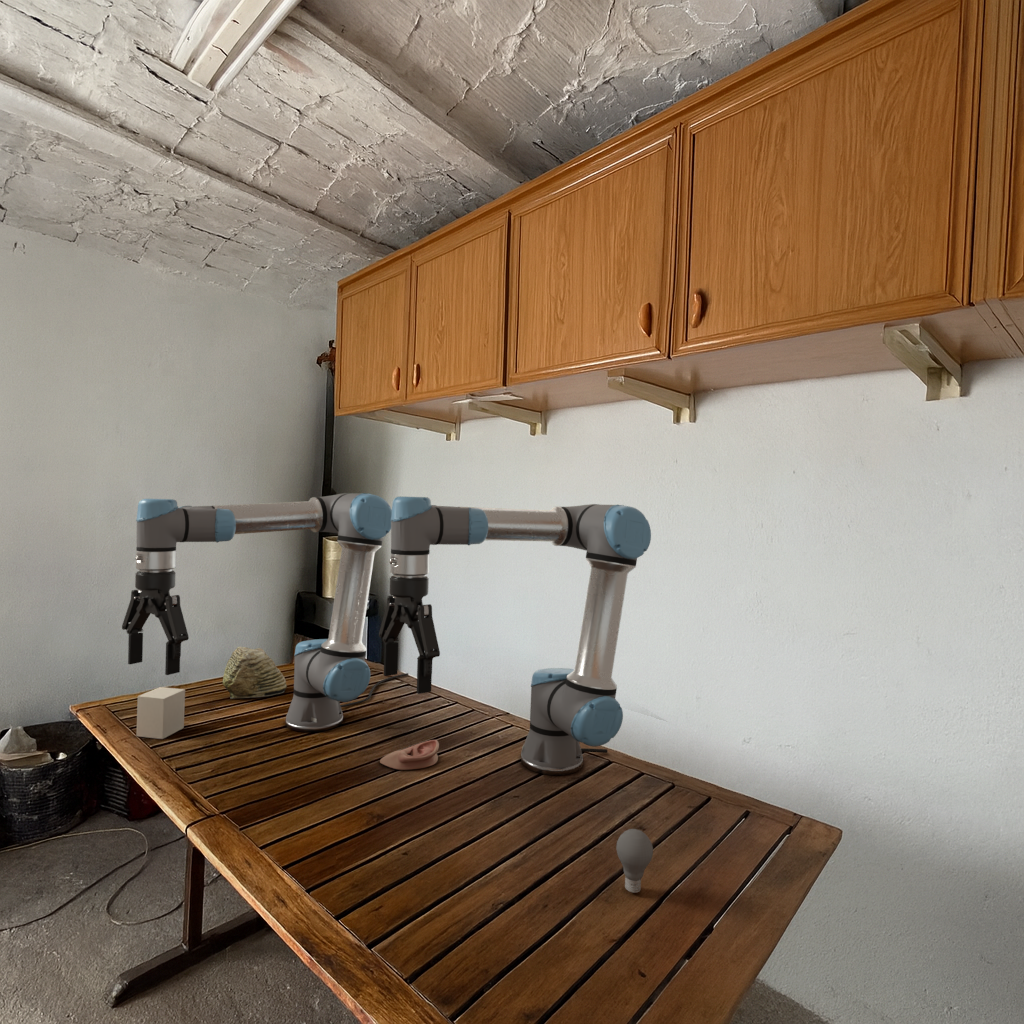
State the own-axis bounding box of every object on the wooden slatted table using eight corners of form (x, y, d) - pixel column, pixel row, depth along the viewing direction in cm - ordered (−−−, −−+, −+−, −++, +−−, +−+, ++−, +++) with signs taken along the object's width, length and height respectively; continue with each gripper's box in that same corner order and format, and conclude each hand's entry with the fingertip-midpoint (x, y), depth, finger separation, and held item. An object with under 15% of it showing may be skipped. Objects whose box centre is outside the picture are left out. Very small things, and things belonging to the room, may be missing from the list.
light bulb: (610, 879, 108) (613, 822, 108) (644, 879, 109) (647, 822, 109) (619, 902, 102) (622, 840, 102) (655, 901, 103) (658, 840, 103)
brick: (158, 725, 170) (160, 686, 169) (183, 727, 169) (185, 689, 168) (136, 736, 162) (137, 696, 161) (162, 739, 160) (163, 698, 160)
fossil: (218, 695, 195) (220, 647, 195) (278, 685, 208) (279, 640, 207) (228, 703, 189) (230, 653, 188) (289, 692, 201) (290, 645, 201)
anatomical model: (374, 749, 149) (393, 732, 160) (374, 766, 149) (393, 748, 161) (428, 756, 147) (443, 739, 158) (427, 774, 147) (443, 754, 158)
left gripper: (105, 566, 139) (103, 662, 140) (174, 577, 127) (171, 682, 128) (139, 564, 146) (137, 655, 146) (208, 574, 134) (205, 673, 134)
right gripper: (364, 569, 131) (361, 670, 132) (424, 584, 112) (421, 704, 112) (396, 567, 136) (394, 665, 136) (460, 582, 116) (457, 697, 117)
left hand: (153, 668), depth 137 cm, fingers open, 13 cm apart
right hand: (406, 683), depth 124 cm, fingers open, 13 cm apart
